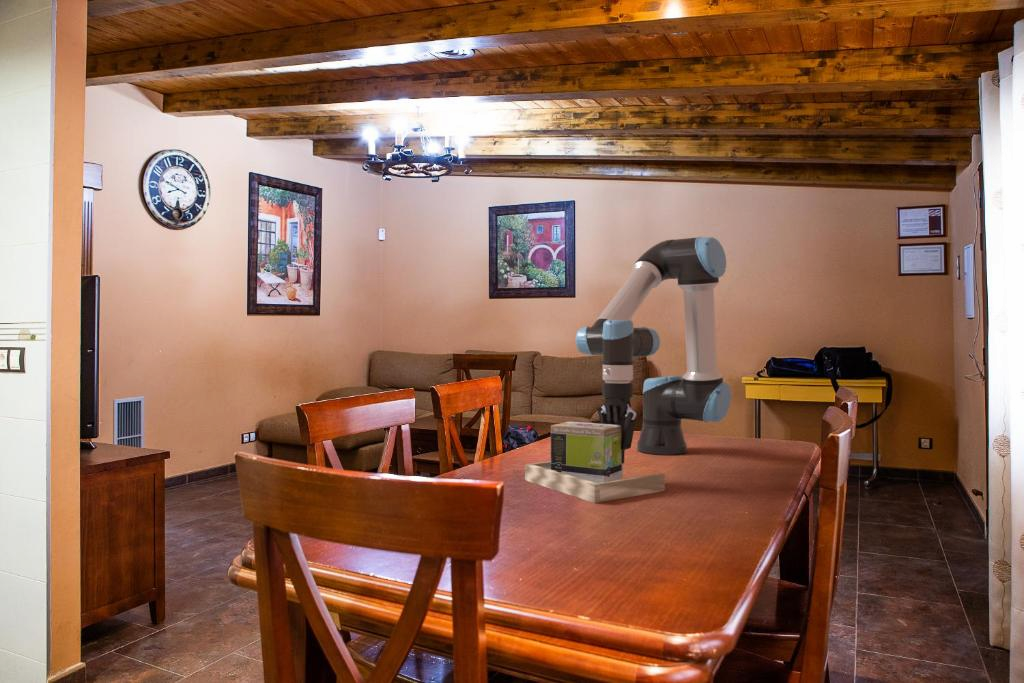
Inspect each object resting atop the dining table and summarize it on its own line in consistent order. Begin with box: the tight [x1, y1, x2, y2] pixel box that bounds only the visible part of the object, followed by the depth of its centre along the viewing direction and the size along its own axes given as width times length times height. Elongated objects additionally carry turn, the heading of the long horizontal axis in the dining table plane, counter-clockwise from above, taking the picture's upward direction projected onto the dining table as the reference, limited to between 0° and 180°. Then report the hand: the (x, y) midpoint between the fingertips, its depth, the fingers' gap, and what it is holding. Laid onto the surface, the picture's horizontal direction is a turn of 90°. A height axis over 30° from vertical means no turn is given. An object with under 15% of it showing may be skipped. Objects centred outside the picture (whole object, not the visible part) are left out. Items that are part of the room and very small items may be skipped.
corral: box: [524, 460, 666, 504], centre depth 174 cm, size 27×22×4 cm
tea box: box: [550, 421, 623, 483], centre depth 176 cm, size 15×10×15 cm, turn 57°
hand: (616, 476), depth 178 cm, fingers closed
